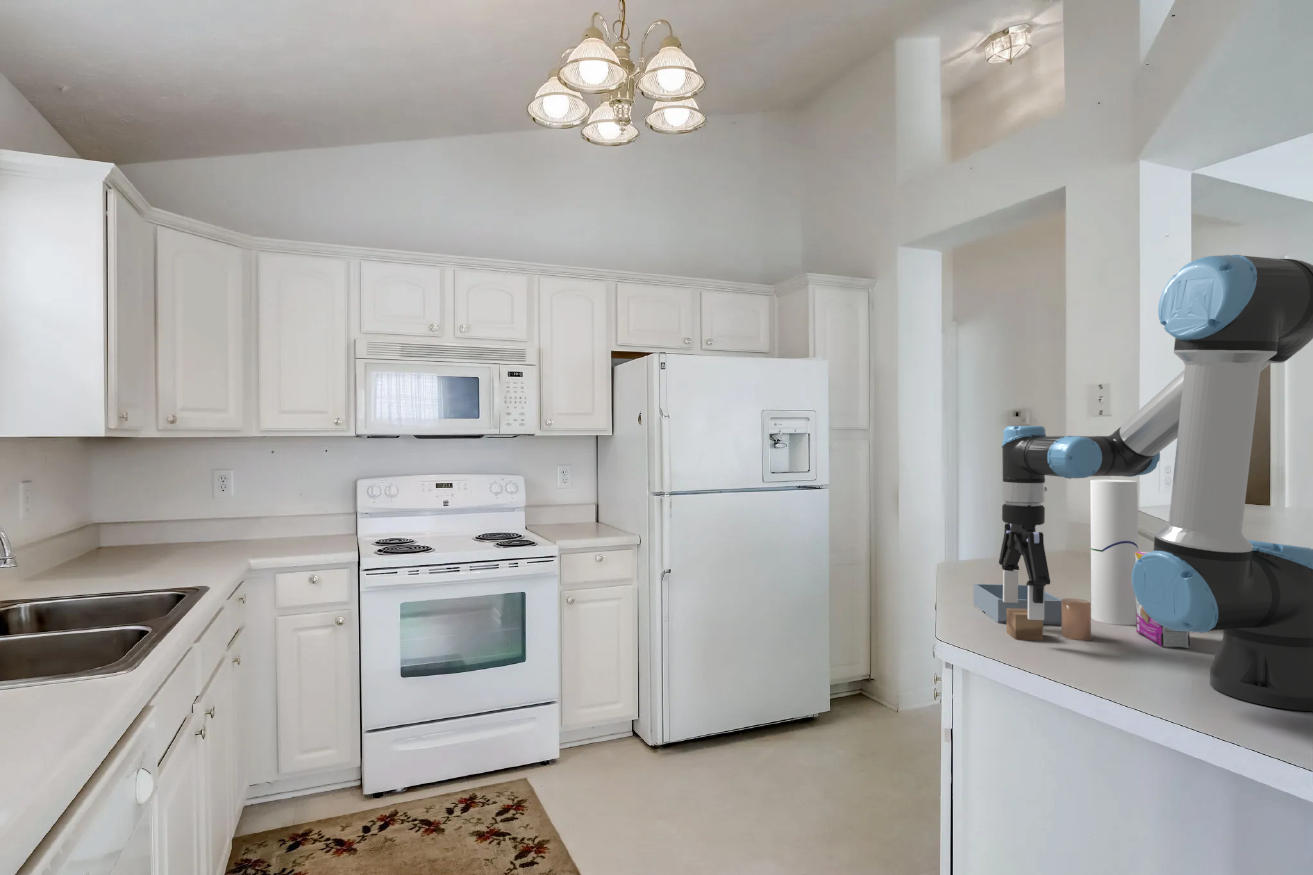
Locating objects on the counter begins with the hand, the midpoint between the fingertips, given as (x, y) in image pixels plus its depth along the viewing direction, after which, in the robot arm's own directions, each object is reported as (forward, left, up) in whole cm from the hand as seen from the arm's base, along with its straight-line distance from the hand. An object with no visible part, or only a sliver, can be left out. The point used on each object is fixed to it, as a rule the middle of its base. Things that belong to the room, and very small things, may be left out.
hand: (1022, 610), depth 143 cm
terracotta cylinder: (+1, -10, -5) cm, 11 cm away
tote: (+19, -5, -5) cm, 20 cm away
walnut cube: (0, 0, -5) cm, 5 cm away
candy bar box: (0, -25, -5) cm, 26 cm away
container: (+16, -24, -5) cm, 29 cm away
